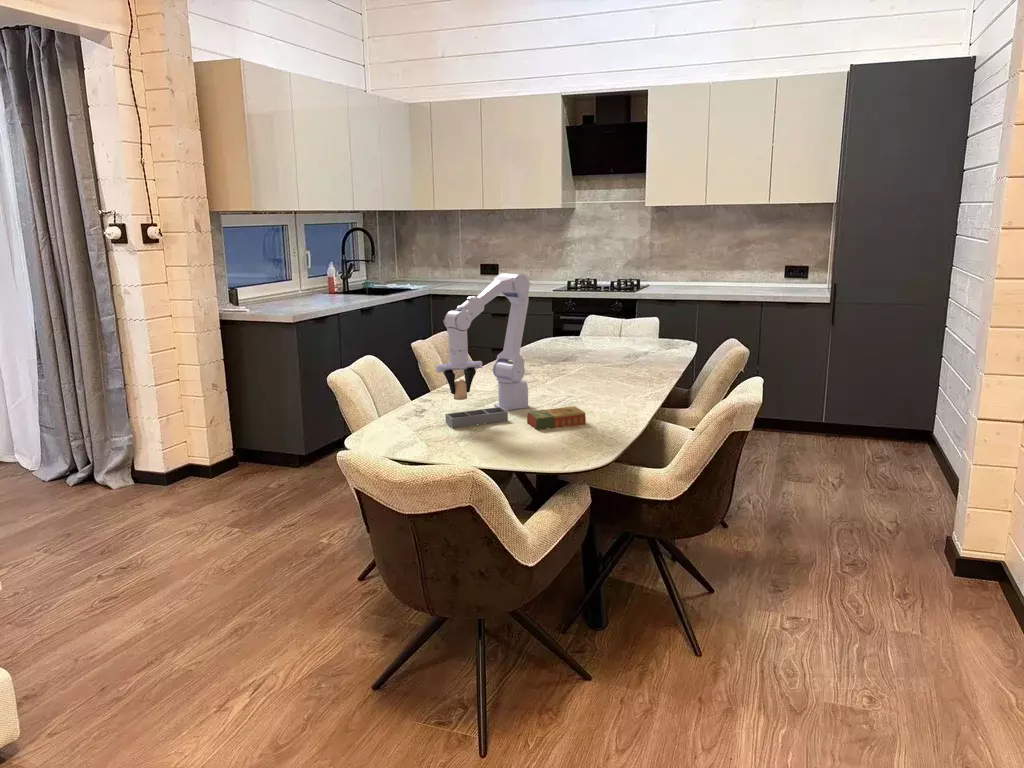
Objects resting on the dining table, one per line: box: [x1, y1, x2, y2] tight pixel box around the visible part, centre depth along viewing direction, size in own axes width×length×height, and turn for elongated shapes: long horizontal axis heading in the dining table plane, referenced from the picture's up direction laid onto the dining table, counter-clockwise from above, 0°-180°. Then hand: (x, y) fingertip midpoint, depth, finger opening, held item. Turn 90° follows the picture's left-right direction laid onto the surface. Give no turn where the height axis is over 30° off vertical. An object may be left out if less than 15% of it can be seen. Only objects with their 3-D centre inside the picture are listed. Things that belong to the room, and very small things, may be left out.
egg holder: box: [445, 406, 509, 429], centre depth 231 cm, size 18×6×3 cm, turn 113°
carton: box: [526, 405, 587, 431], centre depth 227 cm, size 8×16×4 cm, turn 108°
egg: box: [453, 378, 468, 401], centre depth 232 cm, size 4×4×6 cm
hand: (460, 392), depth 233 cm, fingers closed on egg, 4 cm apart
